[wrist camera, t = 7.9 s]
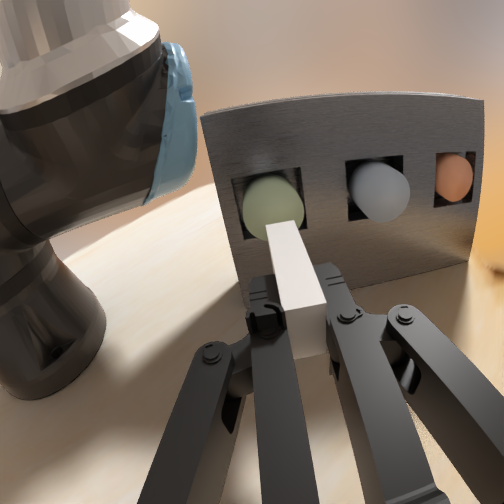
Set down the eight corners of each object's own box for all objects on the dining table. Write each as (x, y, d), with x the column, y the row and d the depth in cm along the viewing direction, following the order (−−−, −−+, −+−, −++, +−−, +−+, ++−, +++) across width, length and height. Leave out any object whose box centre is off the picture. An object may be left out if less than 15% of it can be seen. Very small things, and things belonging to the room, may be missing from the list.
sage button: (249, 246, 21) (237, 191, 18) (247, 229, 23) (237, 179, 21) (306, 236, 20) (300, 180, 18) (299, 220, 22) (293, 170, 20)
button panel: (245, 308, 26) (199, 116, 18) (244, 275, 30) (207, 111, 22) (468, 260, 24) (483, 100, 16) (444, 237, 29) (450, 94, 21)
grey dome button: (361, 226, 20) (359, 172, 18) (349, 212, 22) (346, 162, 20) (408, 218, 20) (410, 166, 18) (394, 205, 22) (394, 157, 20)
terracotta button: (438, 203, 21) (440, 157, 19) (423, 193, 23) (424, 150, 21) (470, 199, 21) (473, 156, 19) (455, 189, 23) (457, 148, 21)
